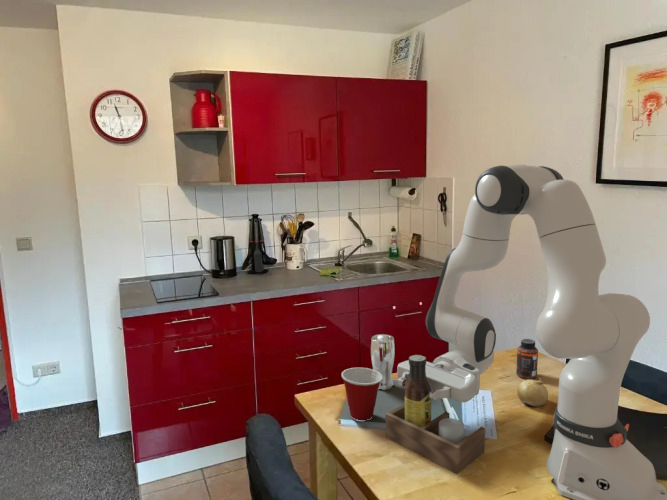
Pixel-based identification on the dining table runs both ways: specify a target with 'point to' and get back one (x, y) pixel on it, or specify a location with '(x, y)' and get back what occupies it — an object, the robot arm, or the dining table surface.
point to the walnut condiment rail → (434, 441)
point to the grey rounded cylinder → (451, 430)
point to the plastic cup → (361, 391)
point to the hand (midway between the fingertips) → (415, 389)
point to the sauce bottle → (417, 393)
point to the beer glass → (383, 358)
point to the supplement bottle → (527, 359)
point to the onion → (532, 392)
